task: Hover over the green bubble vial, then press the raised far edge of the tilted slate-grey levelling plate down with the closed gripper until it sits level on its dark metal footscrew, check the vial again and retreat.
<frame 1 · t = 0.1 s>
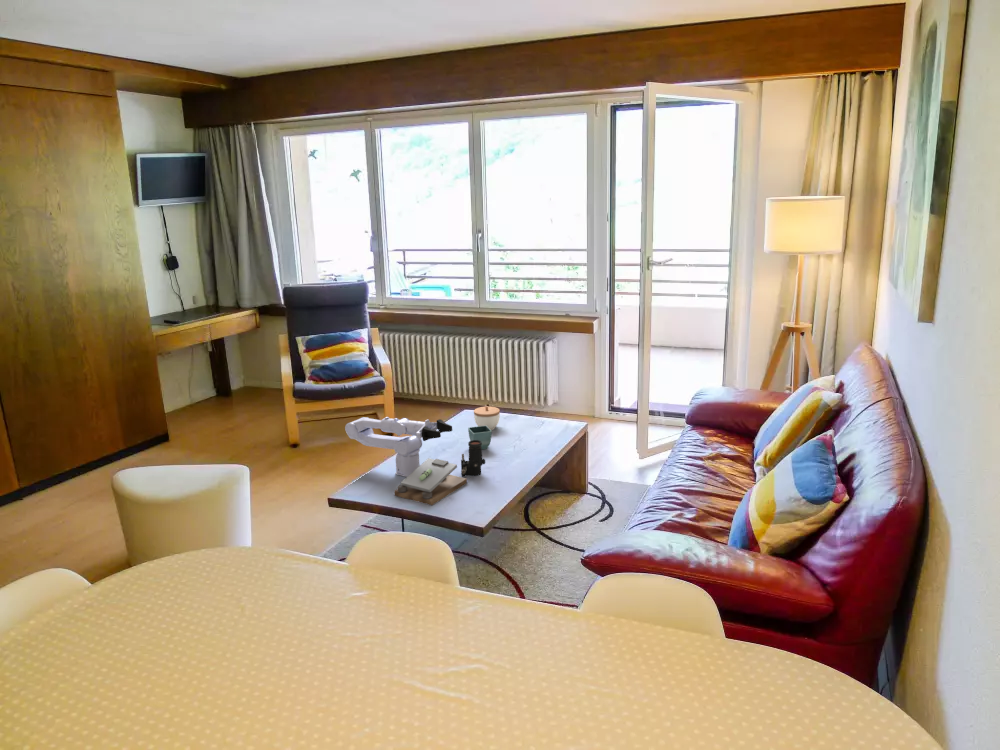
hand: (445, 431, 277), 22 cm above the table, tool horizontal, fingers open, 7 cm apart
scope: (473, 474, 291), on the table
level plate: (428, 472, 274), point 7 cm above the table, hinge at 12.0°
flower pot: (480, 448, 319), on the table
wooden pallet: (431, 489, 277), on the table
lidded bowl: (487, 428, 345), on the table
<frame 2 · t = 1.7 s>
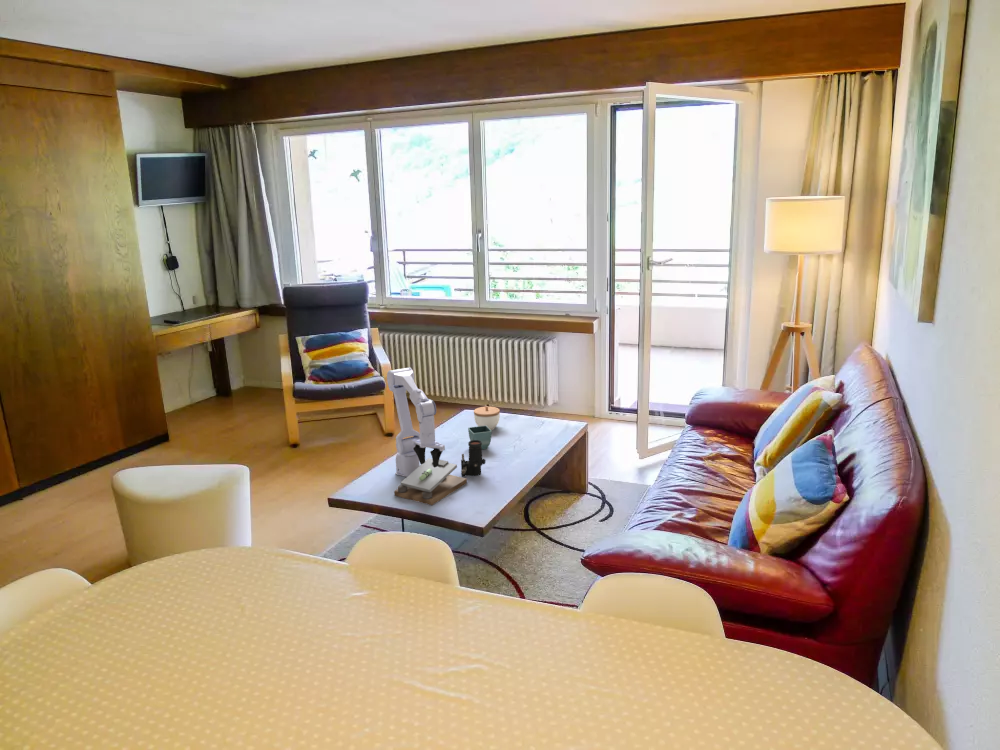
hand: (429, 465, 274), 10 cm above the table, tool pointing down, fingers open, 6 cm apart
nothing on the table moved.
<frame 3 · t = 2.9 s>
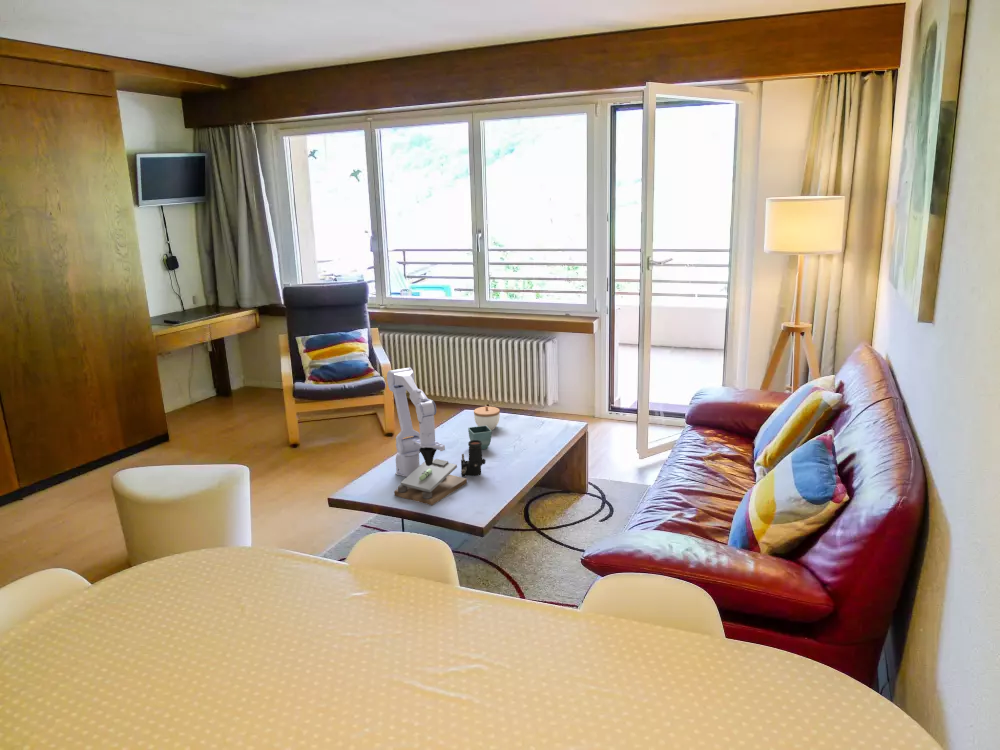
hand: (429, 464, 274), 10 cm above the table, tool pointing down, fingers closed
nothing on the table moved.
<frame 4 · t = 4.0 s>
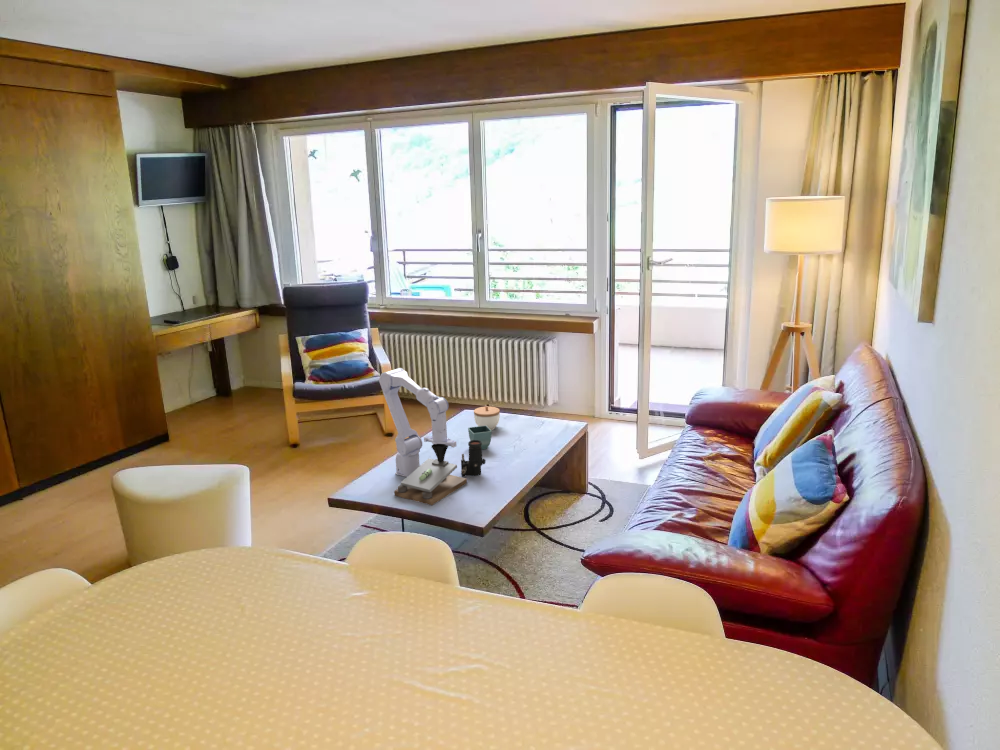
hand: (441, 461, 280), 9 cm above the table, tool pointing down, fingers closed, pressing on level plate
level plate: (428, 473, 274), point 7 cm above the table, hinge at 11.7°, touching gripper
everything else where it was.
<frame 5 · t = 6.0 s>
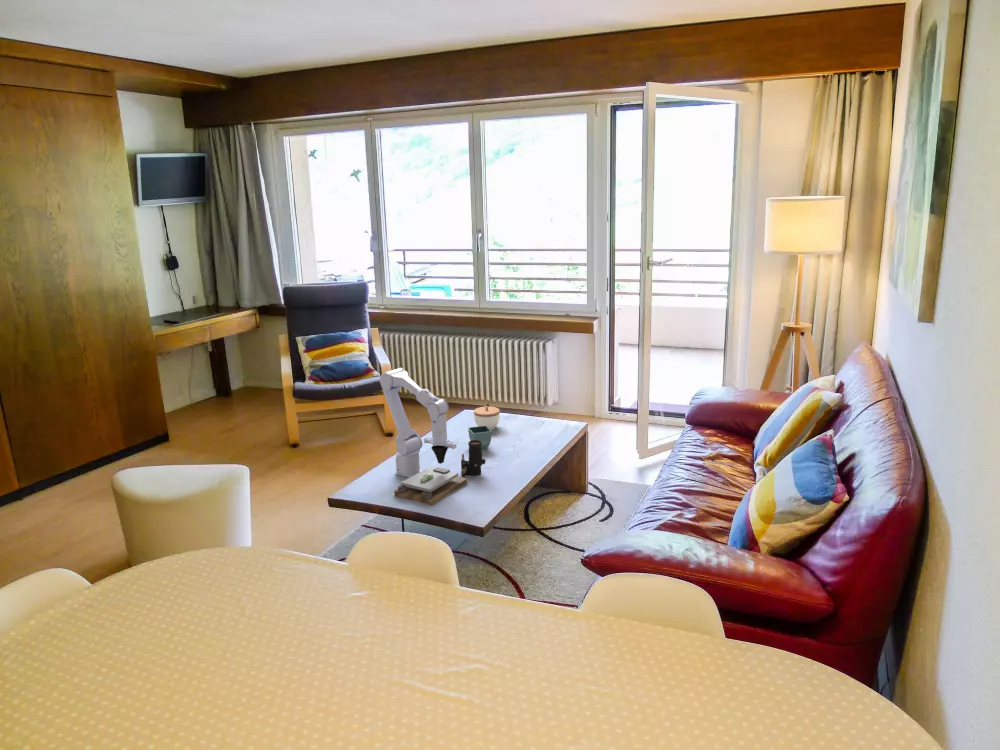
hand: (440, 462, 281), 9 cm above the table, tool pointing down, fingers closed
level plate: (429, 477, 275), point 5 cm above the table, hinge at -0.7°, touching wooden pallet
everything else where it was.
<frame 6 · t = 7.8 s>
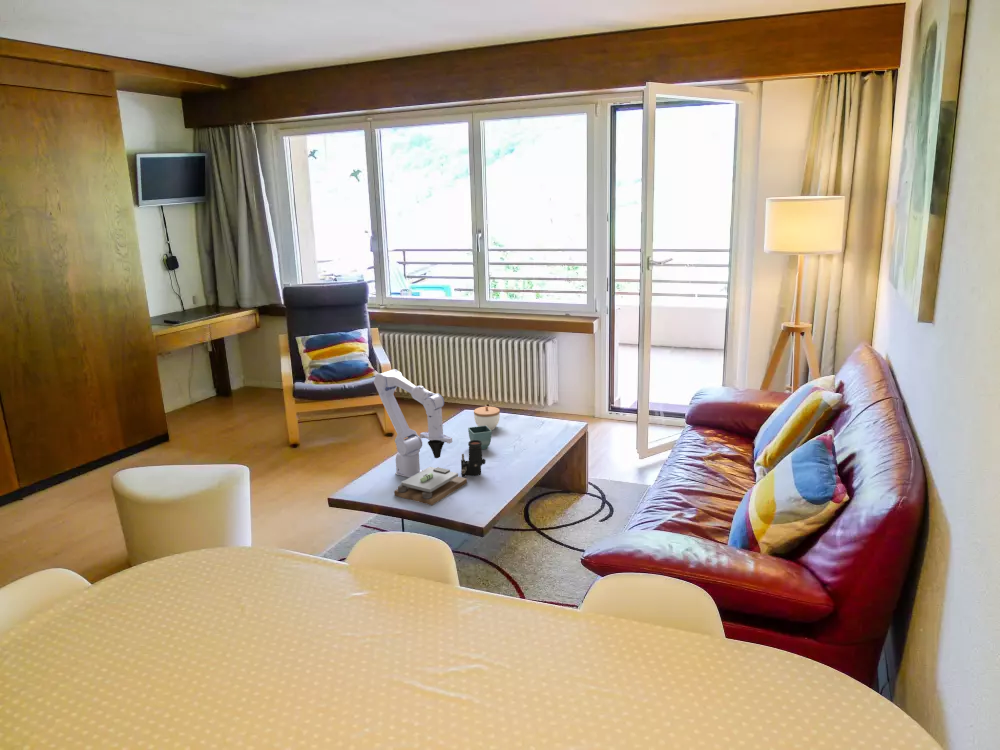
hand: (437, 457, 282), 10 cm above the table, tool pointing down, fingers closed
nothing on the table moved.
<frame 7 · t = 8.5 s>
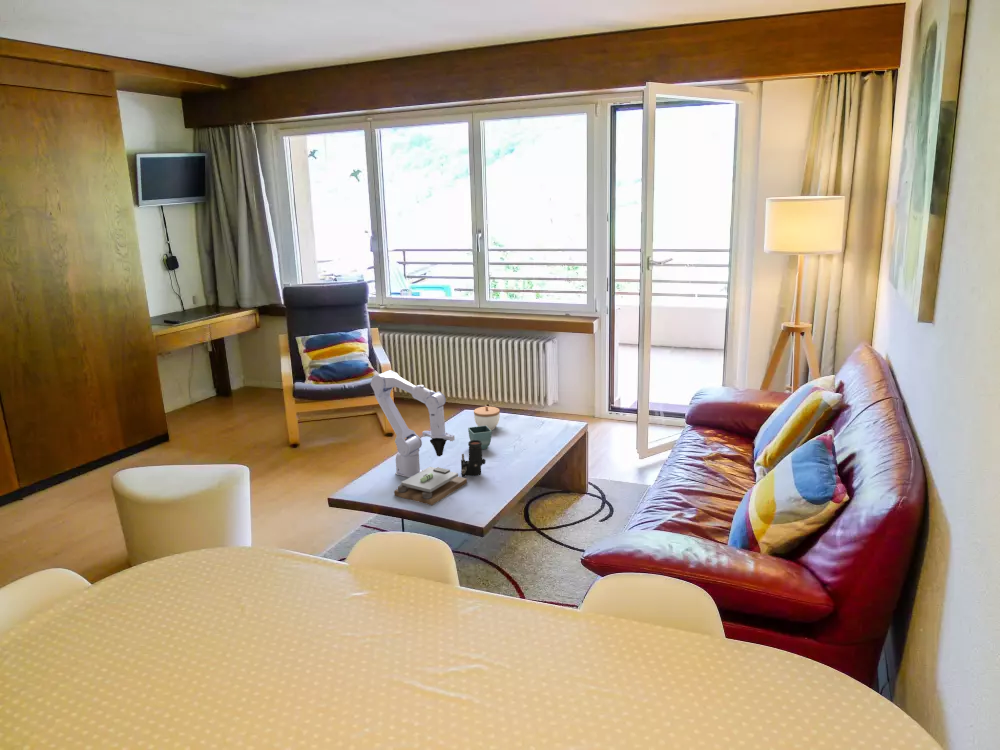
hand: (439, 455, 283), 10 cm above the table, tool pointing down, fingers closed
nothing on the table moved.
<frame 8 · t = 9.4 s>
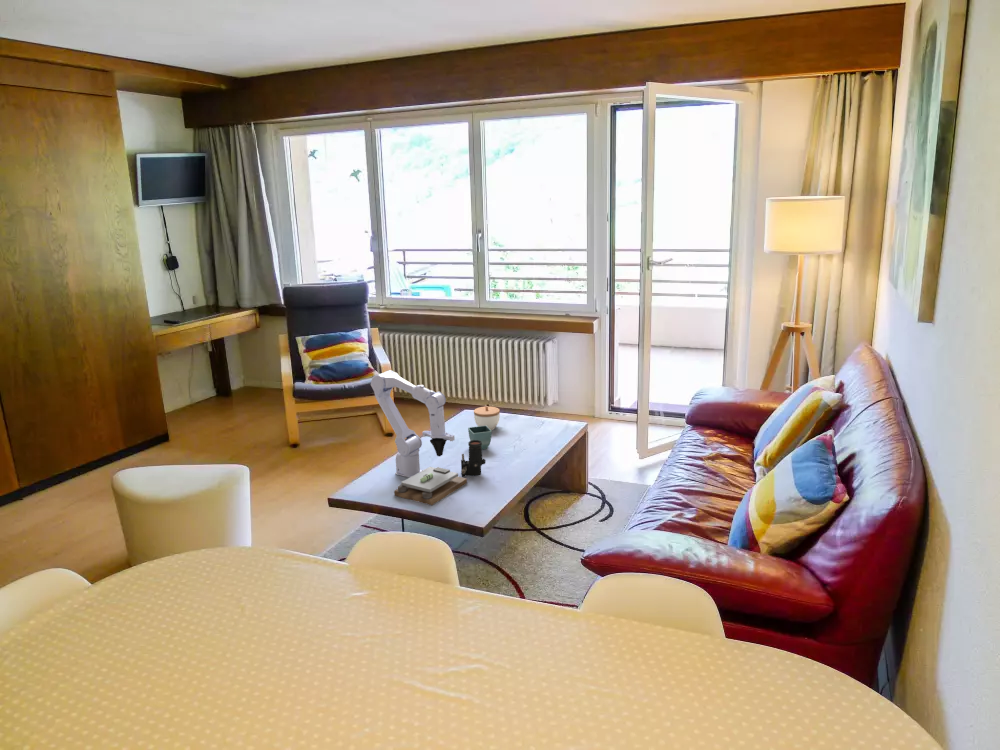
hand: (439, 455, 283), 10 cm above the table, tool pointing down, fingers closed
nothing on the table moved.
at the end: level plate at -1° (first picture: +12°); scope moved 0.2 cm from its start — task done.
